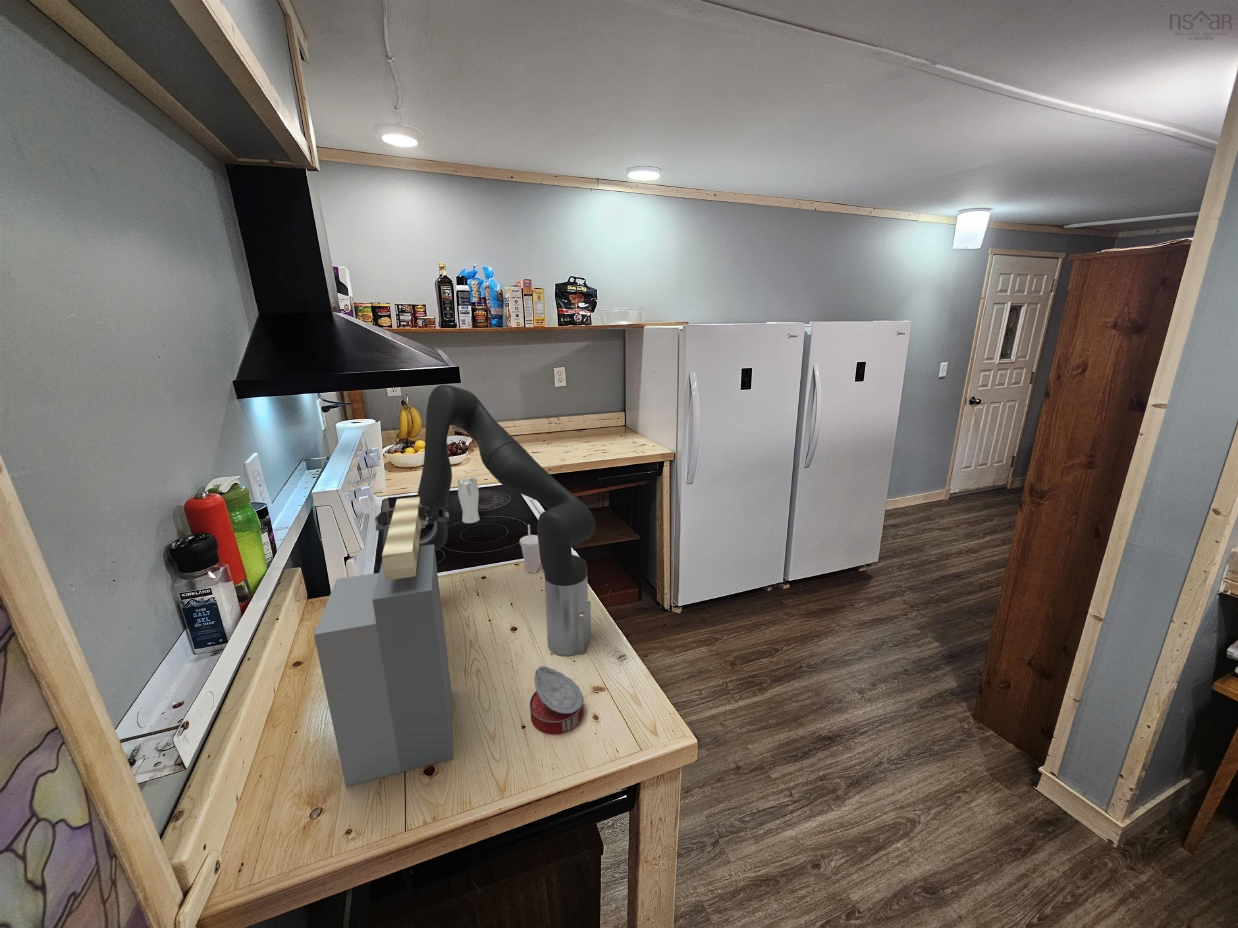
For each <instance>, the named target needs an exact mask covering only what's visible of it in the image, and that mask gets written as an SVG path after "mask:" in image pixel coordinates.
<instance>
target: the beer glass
mask: <svg viewBox="0 0 1238 928" xmlns="http://www.w3.org/2000/svg"><path fill="white" fill-rule="evenodd" d="M457 494H458V499H459V502H460V503H459V504H460V507H461V510H462V517H461V518H462V519H461V521H462V522H463V523H464V524H473V523H477V522H479V521H480V515H479V508H478V507H479V497H480V496H479V494H480V492H479V484H478V479H477V478H476V477H475V478H474V477H464V478H460V479H459V480H457Z"/></svg>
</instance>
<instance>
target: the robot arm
mask: <svg viewBox="0 0 1238 928" xmlns="http://www.w3.org/2000/svg"><path fill="white" fill-rule="evenodd" d="M425 419H426V420H425V431H424V432H425V433H424V434H425V436H424V455H423V465H422V466H423V467H422V470H421V475H420V476H421V477H420V481H419V485H418V489H417V493H416V494H417V495H416V497H420V502H421V505H418V509H419V517H420V519H421V520H422V524H421V533H420V541H419V546H426V545H433V544H434V548H435V551H438V550H441V549H442V548H443V547H444V546H445V544H446V543H447V540H448V522H450V514H449V508H447V506H448V500H449V495H450V491H451V486H452V481H453V471H452V466H451V465H452V464H451V461H450V456H449V451H448V436H449V435H448V434H449V430H450V427H452V426H453V427H456V428H460V429H461V430H463V432H465V433H467V434H468V435H469V436H470V438H471V439H473V441H474V442H475V444H477V446H478V450H479V455H480V459H481V462H482V464H483V465H484V467H485V469H487V471H489V473H490V474H491V475H492V476H493V477H494V478H495V479H496V481H497V482H498V483H500V484H501V485H502V486H503V487H505V488H507V489H509V490H511V491H513V492H515V493H518V494H519V495H522V496H525V497H527V498H530V499H532V500H534V501H536V502H538V503H540V504H541V505H543V506H544V507H545V508H546V510H543V512H542V513H540V515H539V517H538V519H537V523H536V525H537V526H536V533H537V536H538V544H539V553H540V565H541V567H542V570H543V575H544V594H545V595H544V596H545V612H546V613H545V615H546V617H545V618H546V634H547V635H546V636H547V637H546V638H547V647H548V650H550V651H551V652H552V653H553V654H556V655H559V656H564V657H567V656H574V655H578V654H582V655H583V654H586V651H587V648H588V646H589V643H590V641H591V638H592V614H591V613H592V612H591V610H592V609H591V607H592V604H591V600H590V601H589V600H588V599H589V598H588V597H589V596H588V595H589V593H588V590H589V589H588V588H589V587H588V564H587V562H586V560H585V559H584V558H583V557H581V556H578V555H576V554H572V553H573V552H572V548H574V547H575V546H577V545H579V544H581V543H583V542H585V541H586V540H588V539H590V538H591V537H592V536H593V535H594V533H595V531H596V521H595V517H594V516H593V514H592V511H591V510H590V509H589V508H588V507H587V506H586V504H585V503H584V502H583V501H582V500H581V499H579V497H577V496H576V495H574V494H573V493H572V492H571V491H569V489H567V488H566V487H564V486H563V485H562V484H561V483H560V482H558V481H557V480H556V479H555V478H554V477H553V476H552V475H551V474H550V473H549V472H548V471H547V470H546V469H544V468H543V467H542V466H541V465H540V464H539V463H538V462H537V461H536V460H535V459H534V458H533V456H532V455H531V454H530V453H529V452H528V450H526V449H525V447H523V446H522V445H521V444H520V442H518V441H517V440H516V439H515V438H514V437H512V436H511V434H510V433H509V432H508V431H507V430H506V429H505V428H504V427H503V426H502V425H501V424H500V423H498V421H496V420H495V418H494V417H493V416H492V415H491V414H490V413H489V411H488V409H486V407H485V406H484V405H483V402H481V401H480V399H479V398H478V397H477V396H476V395H475V394H474V393H473V392H471V391H469V390H466V389H464V388H460V387H456V386H454V385H451V384H444V383H443V384H439V385H437V386H436V387H434V388H433V389H432V391H431V392H430V395H429V396H428V400H427V406H426V417H425ZM394 510H395V507H391V508H389V510H387V511H382V512H380V513H378V514H377V516H375V518H374V521H375V522H374V523H375V531H378V532H380V531H381V532H382V531H383V530H386V529H387V527H390V523H391V519H392V516H393V512H394Z"/></svg>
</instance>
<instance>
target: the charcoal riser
mask: <svg viewBox="0 0 1238 928" xmlns="http://www.w3.org/2000/svg"><path fill="white" fill-rule="evenodd" d="M437 565H438V564H437V558H436V550H435V548H434V544H433V545H426V546H419V550H418V559H417V567H416V576H413V577H406V578H400V579H393V580H387V581H386V578H385V572H384V566H383V560H381V564H380V567H379V568H380V569H379V572H377V573H369V574H364V575H363V574H362V575H356V576H349V577H348V576H347V577H344V578H343V577H342V578H336V579H335V582H334V585H333V587H332V589H331V592H330V595H329V596H328V599H327V602H326V605H325V607H324V608H323V612H322V613H321V615H320V616H321V617H320V619H319V621H318V623H317V626H316V627H315V628H316V629H315V631H314V633H313V637H314V642H315V647H316V651H317V655H318V661H319V665H320V671H321V674H322V679H323V684H324V689H325V693H326V694H325V695H326V698H327V705H328V709H329V713H330V718H331V724H332V726H333V727H332V728H333V731H334V737H335V741H336V747H337V750H338V751H337V752H338V756H339V761H340V767H341V770H342V776H343V780H344V784H345V787H346V788H347V787H350V786H355V785H359V784H361V783H366V782H370V781H374V780H377V779H380V778H381V779H382V778H385V777H388V776H392V775H393V776H394V775H396V774H399V773H403V772H407V771H411V770H416V769H420V768H423V767H427V766H431V765H434V764H437V763H441V762H445V761H450V760H453V759H454V757H453V756H454V755H453V752H454V751H453V700H452V699H453V693H452V684H451V683H452V682H451V675H450V667H449V657H448V651H447V650H448V649H447V642H446V640H447V639H446V634H445V632H446V631H445V625H444V618H443V617H444V614H443V609H442V599H441V592H440V591H441V590H440V583H439V576H438V567H437Z"/></svg>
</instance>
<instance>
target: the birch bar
mask: <svg viewBox="0 0 1238 928" xmlns="http://www.w3.org/2000/svg"><path fill="white" fill-rule="evenodd" d="M418 505H421V502H420V497H417V496H414V497H405V498H403V497H402V498H396V502H395V505H394V508H395V510H394V512H393V516H392V519H391V523H390V526H388V531H387V535H386V539H385V543H384V547H383V550H382V554H381V558H382V560H383V566H384V572H385V578H386V581H387V580H393V579H400V578H406V577H413V576H416V567H417V559H418V550H419V541H420V533H421V524H422V520H421V519H420V517H419V509H418ZM382 560H381V561H382Z"/></svg>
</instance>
